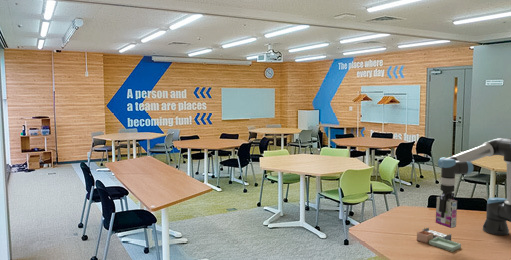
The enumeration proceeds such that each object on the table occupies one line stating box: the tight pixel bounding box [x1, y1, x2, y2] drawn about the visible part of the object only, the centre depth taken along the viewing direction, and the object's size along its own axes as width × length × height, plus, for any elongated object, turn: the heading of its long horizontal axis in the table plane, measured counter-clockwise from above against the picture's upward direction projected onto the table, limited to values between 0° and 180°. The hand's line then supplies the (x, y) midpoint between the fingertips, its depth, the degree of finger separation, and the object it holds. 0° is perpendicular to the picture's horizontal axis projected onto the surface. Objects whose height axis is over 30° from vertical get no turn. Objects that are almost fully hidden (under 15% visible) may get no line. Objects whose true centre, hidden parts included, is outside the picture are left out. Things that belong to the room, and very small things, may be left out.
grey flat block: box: [427, 229, 447, 238], centre depth 253 cm, size 6×12×1 cm, turn 37°
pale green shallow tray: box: [428, 237, 462, 253], centre depth 240 cm, size 10×14×2 cm
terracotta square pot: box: [416, 229, 433, 244], centre depth 248 cm, size 7×7×5 cm
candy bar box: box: [435, 196, 458, 229], centre depth 238 cm, size 11×5×16 cm, turn 25°
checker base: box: [422, 227, 452, 241], centre depth 253 cm, size 6×16×5 cm, turn 37°
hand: (445, 221), depth 239 cm, fingers closed on candy bar box, 6 cm apart
